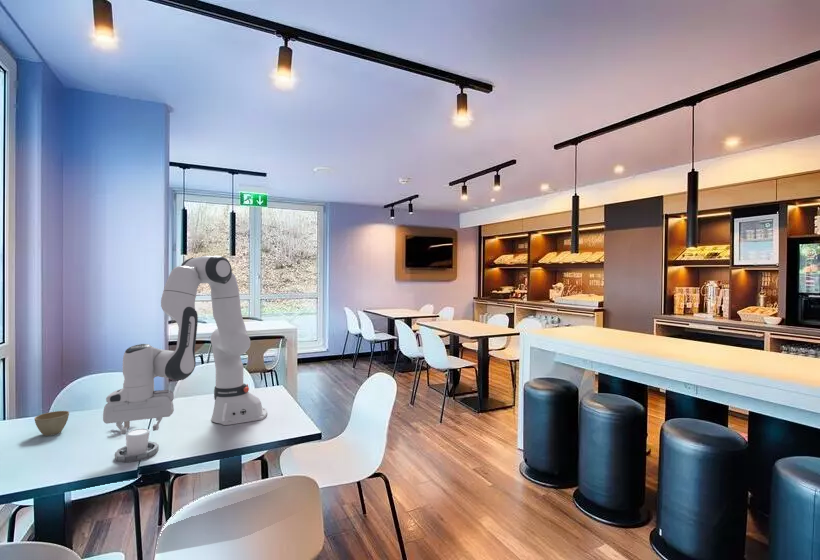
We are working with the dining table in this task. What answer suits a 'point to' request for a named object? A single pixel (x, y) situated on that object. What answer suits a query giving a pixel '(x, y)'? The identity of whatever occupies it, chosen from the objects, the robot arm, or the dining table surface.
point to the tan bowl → (51, 422)
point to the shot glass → (137, 441)
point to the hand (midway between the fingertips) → (140, 431)
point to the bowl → (123, 457)
